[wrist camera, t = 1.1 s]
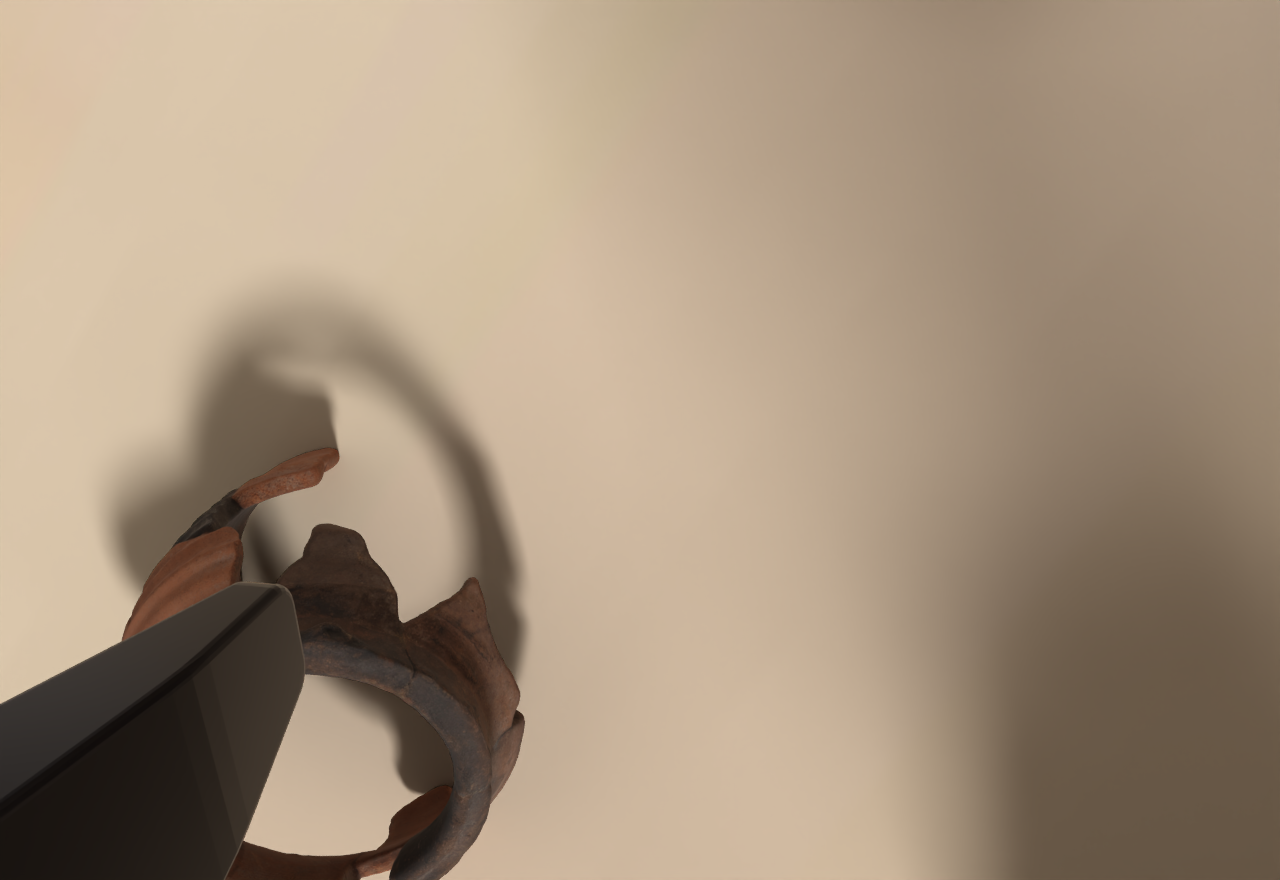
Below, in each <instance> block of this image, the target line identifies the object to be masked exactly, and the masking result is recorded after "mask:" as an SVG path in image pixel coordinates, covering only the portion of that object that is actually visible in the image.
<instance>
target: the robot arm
mask: <svg viewBox="0 0 1280 880" xmlns="http://www.w3.org/2000/svg"><path fill="white" fill-rule="evenodd" d="M304 676H305V658H304V653H303V647H302V642H301V637H300V632H299V626H298V621H297V616H296V611H295V605H294V601H293V598H292V595H291V593H290V591H289V590H288V589H287V588H286V587H284V586H282V585H280V584H270V583H258V582H237V583H234V584H232V585H230V586H228V587H226V588H224V589H222V590H220V591H219V592H217V593H215V594H213V595H211V596H209V597H207V598H205V599H203V600H201V601H199V602H197V603H195V604H193V605H191V606H189V607H188V608H186V609H184V610H182V611H180V612H178V613H176V614H174V615H172V616H170V617H168V618H166V619H164V620H162V621H160V622H158V623H157V624H155V625H153V626H151V627H149V628H147V629H145V630H143V631H141V632H139V633H137V634H135V635H133V636H131V637H129V638H127V639H125V640H124V641H122V642H120V643H118V644H116V645H114V646H112V647H110V648H108V649H106V650H104V651H102V652H100V653H98V654H96V655H94V656H93V657H91V658H89V659H87V660H85V661H83V662H81V663H79V664H77V665H75V666H73V667H71V668H69V669H67V670H65V671H63V672H62V673H60V674H58V675H56V676H54V677H52V678H50V679H48V680H46V681H44V682H42V683H40V684H38V685H36V686H34V687H32V688H30V689H29V690H27V691H25V692H23V693H21V694H19V695H17V696H15V697H13V698H11V699H9V700H7V701H5V702H3V703H1V704H0V880H225V879H226V877H227V874H228V872H229V870H230V868H231V866H232V864H233V862H234V860H235V858H236V856H237V854H238V852H239V849H240V847H241V844H242V842H243V840H244V837H245V835H246V832H247V830H248V828H249V825H250V823H251V820H252V817H253V815H254V812H255V810H256V807H257V804H258V802H259V799H260V797H261V794H262V791H263V789H264V786H265V784H266V781H267V778H268V776H269V773H270V771H271V768H272V765H273V763H274V760H275V758H276V755H277V752H278V750H279V747H280V745H281V742H282V739H283V737H284V734H285V732H286V729H287V726H288V724H289V721H290V719H291V716H292V713H293V711H294V708H295V706H296V703H297V700H298V698H299V695H300V692H301V689H302V686H303V682H304Z"/></svg>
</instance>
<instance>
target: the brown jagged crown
mask: <svg viewBox="0 0 1280 880" xmlns="http://www.w3.org/2000/svg"><path fill="white" fill-rule="evenodd" d="M338 461H339V453H338V451H337V450H336V449H332V448H324V449H320V450H315V451H311V452H307V453H304V454H301V455H298V456H296V457H294V458H292V459H289V460H287V461H285V462H283V463H281V464H279V465H278V466H276V467H274V468H273V469H271V470H270V471H268V472H267V473H265V474H264V475H262V476H259V477H256V478H254V479H251V480H249V481H248V482H246V483H245V484H244V485H242V486H241V487H240V488H238V489H235V490H233V491H231V492H229V493H228V494H227V495H226V496H225V497H223V498H222V499H221V500H220V501H219V502H217V503H216V504H214V505H213V506H212V507H211V509H209V510H208V511H207V512H205V513H204V514H202V515H201V516H200V517H199V518H198V519H197V520H196V521H195V522H194V523H193V524H192V526H191V528H189V529H188V530H187V532H186V533H184V534H183V535H182V536H181V537H180V538H179V539H178V540H177V542H176V543H175V544H174V545H173V547H172V548H171V550H170V551H169V552H168V553H167V554H166V555H165V556H164V557H163V558H162V560H161V561H160V562H159V563H158V564H157V566H156V567H155V568H154V570H153V571H152V573H151V575H150V576H149V578H148V580H147V581H146V583H145V585H144V587H143V593H142V594H141V596H140V598H139V599H138V601H137V603H136V605H135V607H134V609H133V612H132V616H131V617H130V618H129V620H128V622H127V624H126V627H125V630H124V633H123V637H122V641H124V640H125V639H127V638H129V637H131V636H133V635H135V634H137V633H139V632H141V631H143V630H145V629H147V628H149V627H151V626H153V625H155V624H157V623H158V622H160V621H162V620H164V619H166V618H168V617H170V616H172V615H174V614H176V613H178V612H180V611H182V610H184V609H186V608H188V607H189V606H191V605H193V604H195V603H197V602H199V601H201V600H203V599H205V598H207V597H209V596H211V595H213V594H215V593H217V592H219V591H220V590H222V589H224V588H226V587H228V586H230V585H232V584H234V583H237V582H242V581H241V577H240V570H241V566H242V562H243V546H242V542H241V537H242V533H243V530H244V528H245V525H246V522H247V520H248V517H249V515H250V514H251V512H252V511H253V510H254V508H255V507H256V506H257V504H258V503H260V502H262V501H265V500H267V499H270V498H273V497H276V496H279V495H282V494H286V493H290V492H293V491H297V490H301V489H305V488H309V487H313V486H315V485H317V484H318V483H319V482H320V481H321V479H322V477H323V473H324V472H326V471H328V470H329V469H331V468H332V467H334V466H335V465H336V464H337V463H338ZM276 584H280V585H282V586H284V587H286V588H287V589H288V590H289V591H290V593H291V595H292V598H293V601H294V605H295V611H296V616H297V621H298V626H299V632H300V637H301V642H302V647H303V653H304V658H305V674H310V675H323V676H330V677H341V678H347V679H350V680H356V681H359V682H362V683H368V684H371V685H373V686H375V687H377V688H379V689H382V690H385V691H387V692H391V693H393V694H395V695H396V696H398V697H400V698H401V699H402V700H403V701H404V702H406V703H407V704H409V705H410V706H412V707H413V708H415V709H416V710H417V711H418V713H419V714H420V715H421V716H422V717H424V718H425V719H426V720H427V721H428V723H429V724H431V725H432V726H433V727H434V729H435V730H436V731H437V732H438V733H439V735H440V736H441V738H442V739H443V741H444V742H445V745H446V746H447V748H448V749H449V752H450V755H451V758H452V761H453V768H454V784H453V788H451V787H449V786H447V785H443V786H439V787H436V788H434V789H432V790H431V791H429V792H427V793H425V794H424V795H422V796H420V797H418V798H417V799H415V800H414V801H412V802H411V803H409V804H408V805H406V806H404V807H403V808H402V809H401V810H399V811H398V812H397V813H396V814H395V815H394V816H393V818H392V819H391V824H390V826H389V836H388V839H387V840H386V841H385V842H384V843H383V844H382V845H381V846H380V847H379V848H378V849H377V850H373V851H368V852H361V853H357V854H350V855H343V856H309V855H307V856H303V855H298V854H286V853H281V852H278V851H274V850H271V849H267V848H264V847H261V846H257V845H254V844H250V843H248V842H245V841H243V842H242V844H241V847H240V849H239V852H238V854H237V856H236V858H235V860H234V862H233V864H232V866H231V868H230V870H229V872H228V874H227V877H226V879H225V880H360V879H361V878H362V877H366V876H370V875H373V874H378V873H382V872H385V871H388V870H391V872H390V876H389V880H439V879H440V878H441V877H443V876H444V875H445V874H447V873H448V872H449V871H450V870H451V869H452V868H453V867H454V866H455V865H456V864H457V863H458V862H459V860H460V859H461V857H462V856H463V854H464V853H465V852H466V851H467V850H468V849H469V848H470V847H471V845H472V844H473V843H474V842H475V840H476V839H477V837H478V835H479V833H480V832H481V829H482V827H483V825H484V823H485V821H486V819H487V815H488V811H489V807H490V804H491V802H492V801H493V800H494V799H495V797H496V796H497V795H498V793H499V792H500V791H501V789H502V788H503V786H504V785H505V783H506V781H507V780H508V778H509V776H510V774H511V772H512V770H513V768H514V766H515V763H516V760H517V758H518V754H519V751H520V745H521V741H522V736H523V733H524V726H525V720H524V716H523V715H522V713H520V712H519V711H517V710H516V709H517V706H518V704H519V701H520V691H519V688H518V686H517V684H516V681H515V679H514V676H513V675H512V673H511V671H510V670H509V669H508V668H507V666H506V665H505V663H504V660H503V658H502V657H501V655H500V654H499V652H498V650H497V647H496V645H495V642H494V640H493V637H492V634H491V630H490V626H489V624H488V621H487V617H486V605H485V601H484V598H483V594H482V592H481V589H480V586H479V582H478V580H477V579H476V578H474V577H472V578H469V579H468V580H466V582H465V583H464V585H463V587H462V588H461V589H460V591H458V592H457V593H456V594H454V595H453V596H452V597H451V598H449V599H447V600H445V601H442V602H440V603H439V604H437V605H436V606H434V607H433V608H431V609H429V610H428V611H426V612H424V613H423V614H421V615H419V616H418V617H416V618H414V619H411V620H410V621H408V622H406V623H402V622H401V621H400V620H399V617H398V598H397V593H396V591H395V589H394V587H393V585H392V584H391V582H390V580H389V578H388V576H387V575H386V573H385V572H384V571H383V570H382V568H381V567H380V566H379V565H378V564H377V563H376V562H375V561H374V560H373V559H372V558H371V556H370V554H369V552H368V549H367V546H366V543H365V540H364V539H363V537H362V536H361V535H360V534H359V533H357V532H356V531H354V530H351V529H348V528H344V527H340V526H337V525H333V524H320V525H317V526H315V527H314V528H313V530H312V533H311V537H310V539H309V541H308V543H307V544H306V546H305V548H304V552H303V557H302V558H300V559H299V560H297V561H296V562H295V563H293V564H292V565H291V566H290V567H289V568H288V569H287V570H286V571H285V572H284V573H283V574H282V575H281V576H280V578H279V579H278V581H277V582H276Z"/></svg>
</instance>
